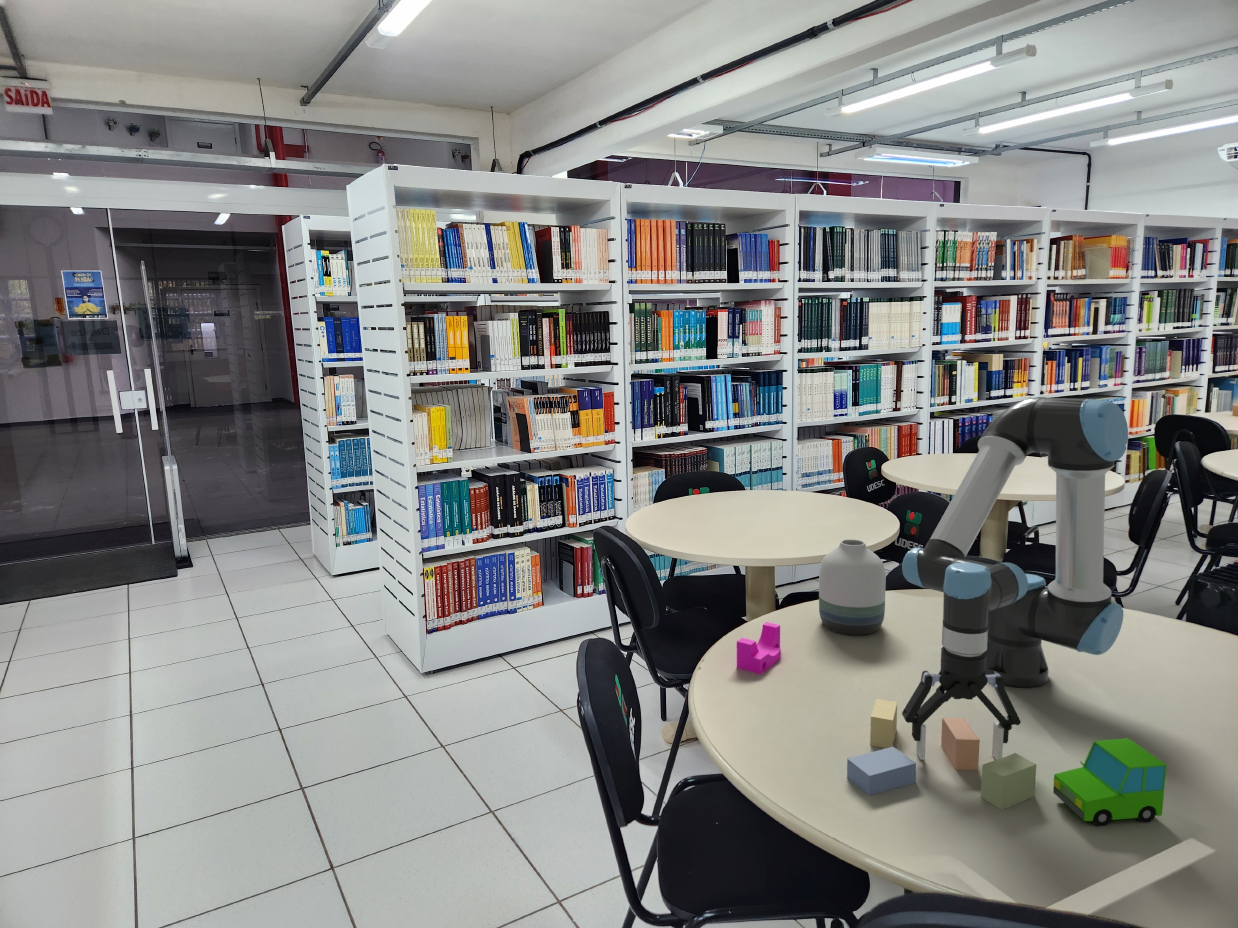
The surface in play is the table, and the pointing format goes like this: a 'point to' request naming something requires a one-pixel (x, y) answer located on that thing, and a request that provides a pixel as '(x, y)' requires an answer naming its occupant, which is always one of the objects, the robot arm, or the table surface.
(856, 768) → the brick slate
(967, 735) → the brick terracotta
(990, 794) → the brick olive
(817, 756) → the table surface
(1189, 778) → the table surface
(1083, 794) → the toy car
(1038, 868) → the table surface
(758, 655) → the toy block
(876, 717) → the brick ochre
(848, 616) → the vase
